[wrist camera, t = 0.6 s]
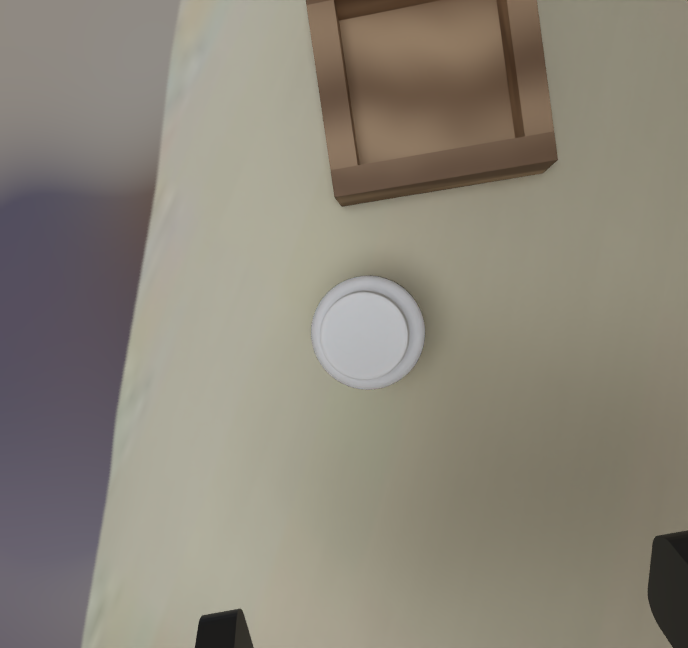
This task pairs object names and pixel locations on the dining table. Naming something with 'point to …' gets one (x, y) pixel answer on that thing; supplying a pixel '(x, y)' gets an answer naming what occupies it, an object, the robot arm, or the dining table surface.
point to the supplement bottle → (368, 332)
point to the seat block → (430, 94)
